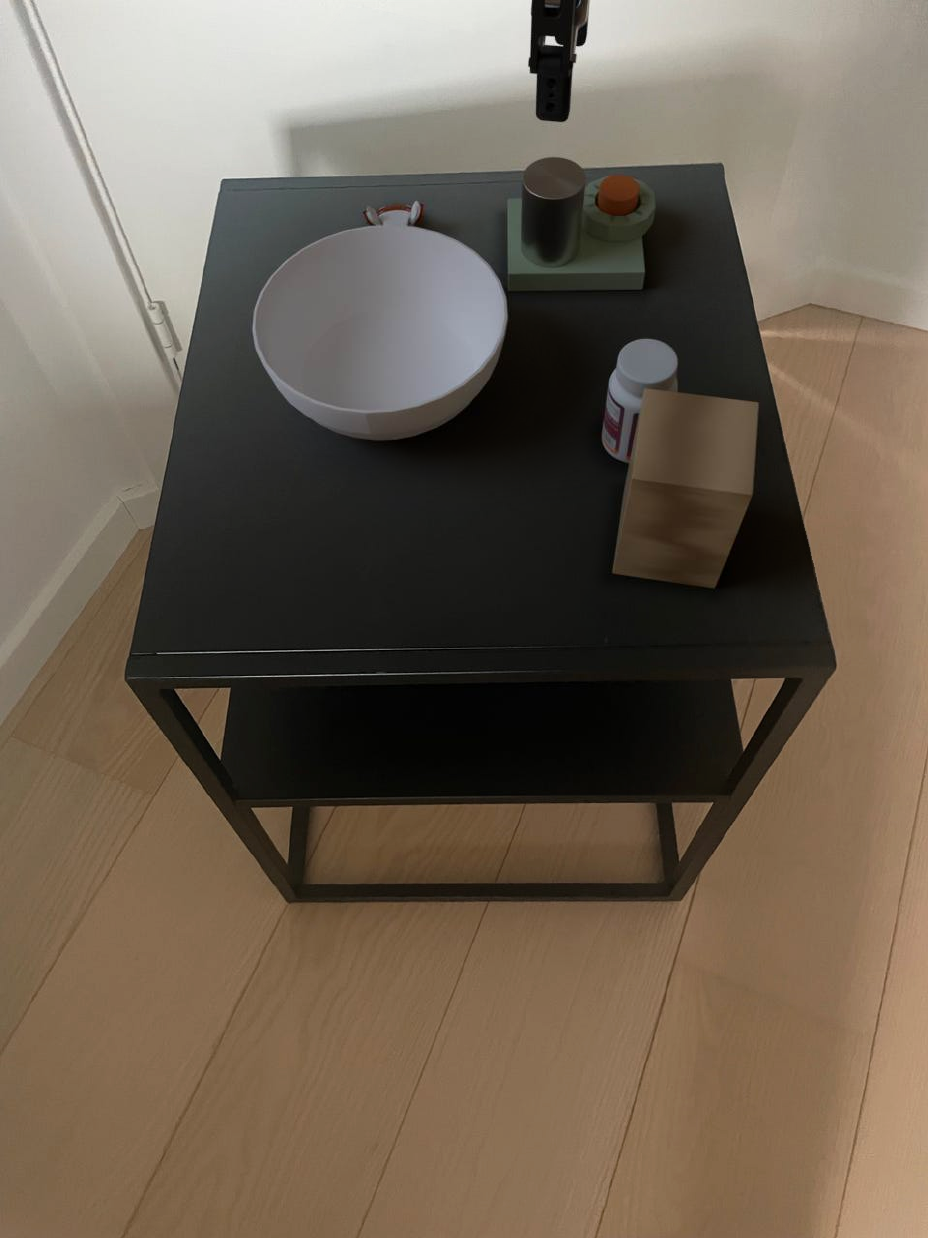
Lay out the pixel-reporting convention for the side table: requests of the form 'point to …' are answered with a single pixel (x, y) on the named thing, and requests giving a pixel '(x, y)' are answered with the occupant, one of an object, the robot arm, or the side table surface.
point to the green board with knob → (588, 248)
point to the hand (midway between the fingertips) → (561, 78)
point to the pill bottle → (635, 391)
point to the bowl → (381, 330)
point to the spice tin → (552, 211)
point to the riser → (686, 487)
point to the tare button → (618, 195)
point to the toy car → (395, 215)
